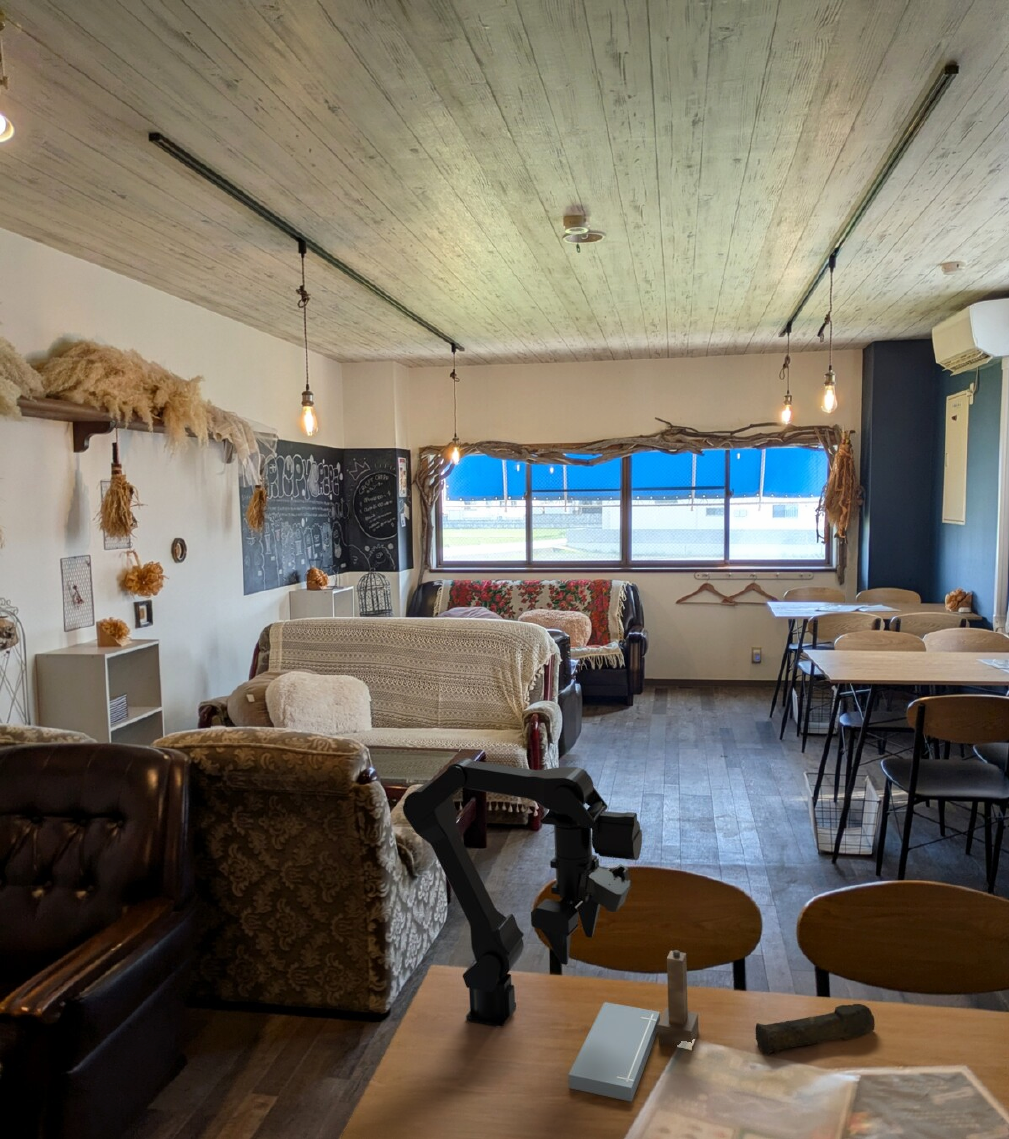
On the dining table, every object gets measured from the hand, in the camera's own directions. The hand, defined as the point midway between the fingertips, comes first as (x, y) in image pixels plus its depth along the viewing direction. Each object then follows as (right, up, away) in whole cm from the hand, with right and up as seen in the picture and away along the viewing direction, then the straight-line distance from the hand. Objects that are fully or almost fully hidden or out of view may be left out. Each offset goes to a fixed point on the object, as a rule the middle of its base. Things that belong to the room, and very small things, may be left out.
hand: (577, 949), depth 135 cm
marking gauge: (+15, -13, -2) cm, 20 cm away
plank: (+6, -13, -5) cm, 15 cm away
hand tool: (+36, -12, -4) cm, 38 cm away
